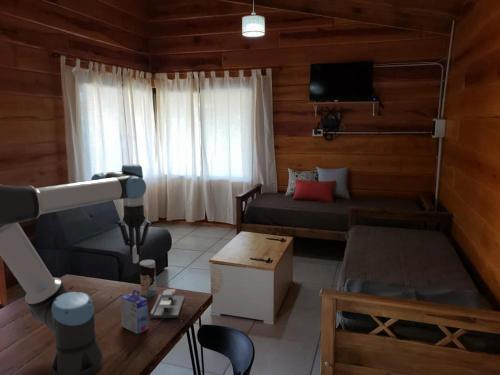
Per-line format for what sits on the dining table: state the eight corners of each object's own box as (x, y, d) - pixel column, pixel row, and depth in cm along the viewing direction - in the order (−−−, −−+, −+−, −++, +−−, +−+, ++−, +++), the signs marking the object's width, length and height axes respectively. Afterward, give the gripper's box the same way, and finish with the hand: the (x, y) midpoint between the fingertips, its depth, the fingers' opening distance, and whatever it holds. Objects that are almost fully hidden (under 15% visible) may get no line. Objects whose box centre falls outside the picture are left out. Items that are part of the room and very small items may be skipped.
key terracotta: (174, 296, 164) (173, 293, 163) (164, 296, 164) (164, 293, 163) (175, 292, 168) (175, 289, 167) (166, 292, 168) (166, 289, 167)
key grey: (171, 297, 158) (171, 294, 158) (162, 297, 158) (161, 294, 158) (173, 293, 162) (173, 290, 162) (164, 293, 162) (163, 290, 162)
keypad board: (177, 317, 153) (177, 312, 153) (150, 317, 153) (150, 312, 152) (184, 298, 170) (184, 292, 169) (159, 298, 170) (159, 293, 169)
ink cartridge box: (149, 328, 145) (148, 293, 143) (138, 335, 141) (135, 298, 138) (133, 320, 151) (131, 286, 148) (121, 326, 147) (119, 291, 144)
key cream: (169, 307, 154) (169, 304, 154) (159, 307, 154) (159, 304, 154) (171, 303, 158) (171, 299, 158) (161, 303, 158) (161, 299, 157)
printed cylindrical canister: (142, 290, 177) (140, 260, 174) (156, 289, 178) (155, 259, 176) (140, 297, 171) (138, 265, 168) (156, 296, 172) (154, 264, 169)
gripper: (152, 202, 152) (154, 259, 156) (120, 202, 152) (122, 258, 156) (147, 206, 144) (149, 265, 148) (113, 206, 145) (116, 265, 149)
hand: (135, 262), depth 152 cm, fingers closed
